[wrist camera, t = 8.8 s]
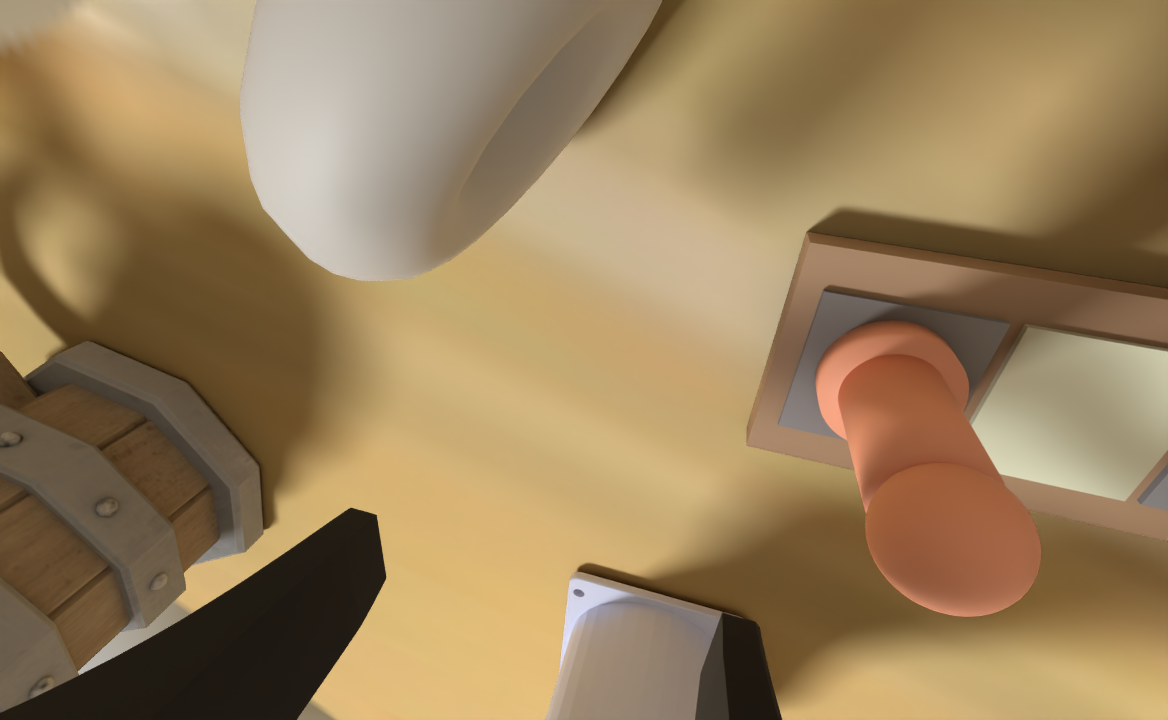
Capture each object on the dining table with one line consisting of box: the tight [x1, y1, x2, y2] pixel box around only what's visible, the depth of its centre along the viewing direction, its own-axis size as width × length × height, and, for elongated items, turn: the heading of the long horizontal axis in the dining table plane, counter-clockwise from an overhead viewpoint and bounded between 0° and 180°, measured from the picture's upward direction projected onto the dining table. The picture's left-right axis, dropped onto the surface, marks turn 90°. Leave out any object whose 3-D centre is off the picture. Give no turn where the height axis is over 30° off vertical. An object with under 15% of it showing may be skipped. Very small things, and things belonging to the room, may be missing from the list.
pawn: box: [815, 320, 1041, 617], centre depth 12 cm, size 4×4×7 cm
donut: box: [240, 0, 663, 281], centre depth 11 cm, size 10×4×10 cm, turn 141°
